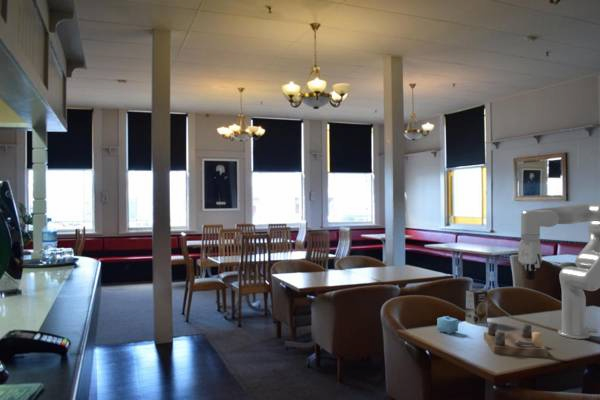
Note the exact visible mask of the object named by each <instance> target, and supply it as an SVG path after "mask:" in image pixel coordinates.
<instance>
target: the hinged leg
mask: <svg viewBox="0 0 600 400" xmlns="http://www.w3.org/2000/svg"><path fill="white" fill-rule="evenodd" d="M531 335H532V342H528V341H519V340H516V341H515V344H516V345H529V346H535V347H542V345H543V333H542V332H539V331H531Z"/></svg>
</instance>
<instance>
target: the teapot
mask: <svg viewBox="0 0 600 400" xmlns="http://www.w3.org/2000/svg"><path fill="white" fill-rule="evenodd" d="M436 321H437V325H436V327H437V331H440V333H441V334H442V333H443V334H444V333H446V334H447V335H451V334H455V333H456V332H458V331H459V323H461V322H462V321H461V320H459V319H458V318H455V317H450V316H449V315H447V316H445V315H444V316H442V317H441V316H440V317H437V319H436Z"/></svg>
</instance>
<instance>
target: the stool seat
mask: <svg viewBox="0 0 600 400" xmlns="http://www.w3.org/2000/svg"><path fill="white" fill-rule="evenodd" d="M521 327H522V328H521V330H522V331H521V333H520V334H519V333H518V334H517V333H505V331H501V330H498V323H497V322H493V321H489V322H487V332H486V331H484V332H483V340H484V341H485V342H486V344H487V346H488V347H489V349H490V350H491V351H492V353H493V354H494V355H496V354H497V355H508V356H522V357H523V356H524V357H538V358H548V356H549V355H548V350H549V349H547V347H545V345H543V344H542V347H535V346H529V345H516V344H515V341H516V340H519V341H528V342H532V324H528V323H522V325H521Z"/></svg>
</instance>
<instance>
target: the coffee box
mask: <svg viewBox="0 0 600 400" xmlns="http://www.w3.org/2000/svg"><path fill="white" fill-rule="evenodd" d="M488 293H489V292H488V291H487V290H482V289H470V290H465V322H466V323H468V324H472V325H480V324H481V325H482V324H488Z"/></svg>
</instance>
